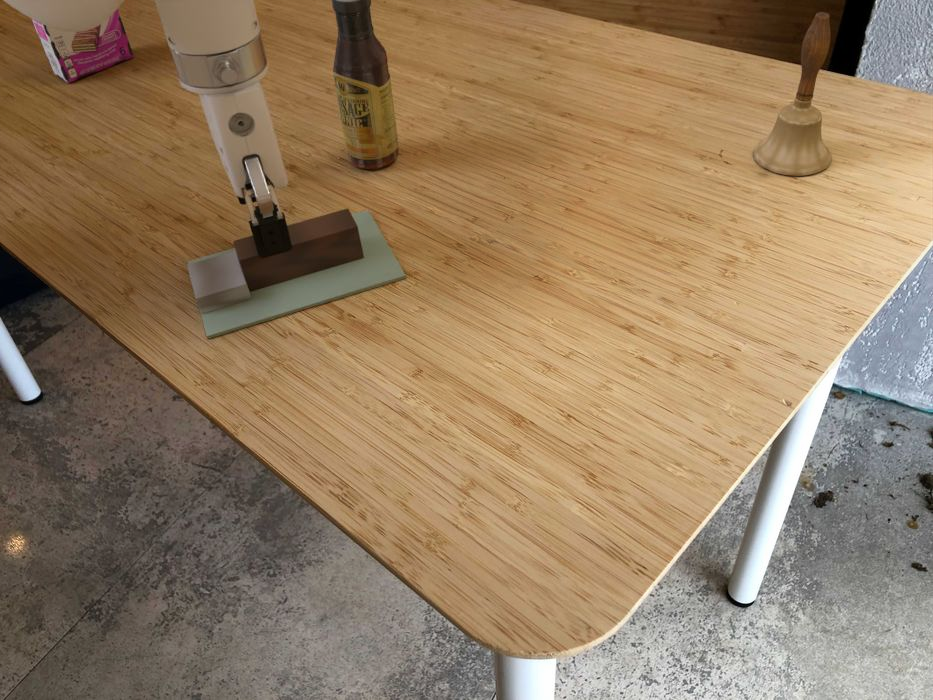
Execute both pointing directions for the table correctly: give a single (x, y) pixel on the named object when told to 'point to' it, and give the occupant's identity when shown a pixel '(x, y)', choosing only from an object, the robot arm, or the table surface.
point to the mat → (311, 284)
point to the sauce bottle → (363, 88)
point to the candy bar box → (85, 48)
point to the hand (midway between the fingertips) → (265, 225)
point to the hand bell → (800, 115)
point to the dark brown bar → (275, 260)
